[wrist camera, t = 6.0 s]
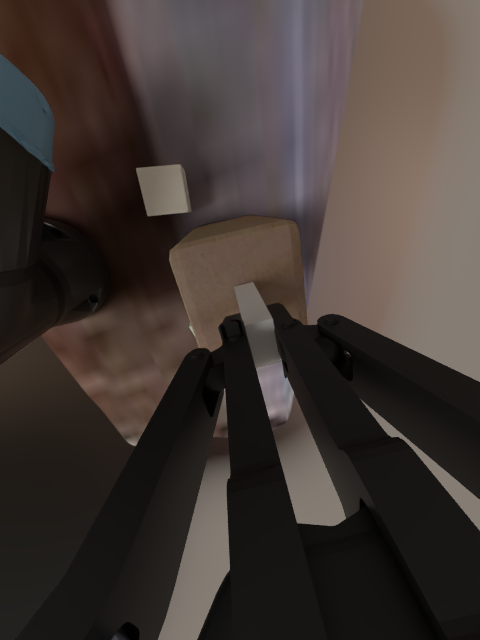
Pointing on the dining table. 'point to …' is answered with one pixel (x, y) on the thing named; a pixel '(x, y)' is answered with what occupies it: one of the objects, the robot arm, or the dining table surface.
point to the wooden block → (238, 270)
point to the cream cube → (164, 189)
